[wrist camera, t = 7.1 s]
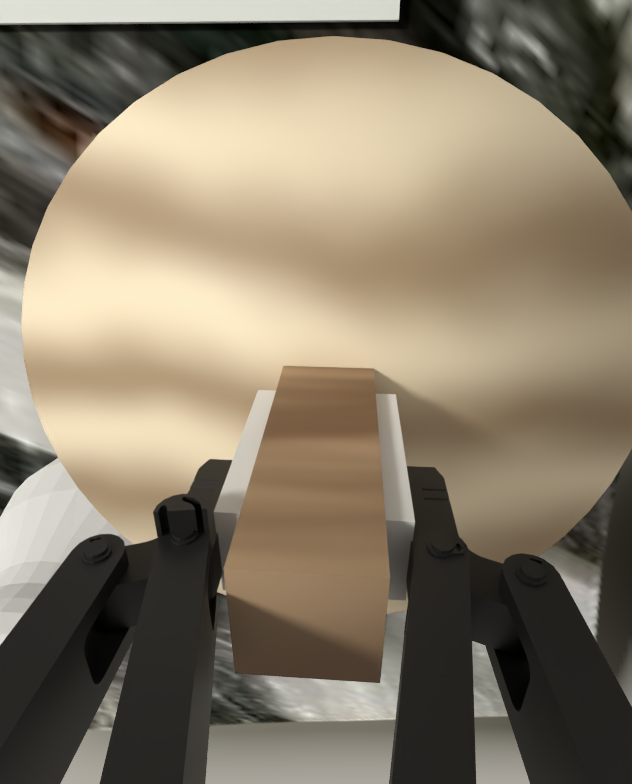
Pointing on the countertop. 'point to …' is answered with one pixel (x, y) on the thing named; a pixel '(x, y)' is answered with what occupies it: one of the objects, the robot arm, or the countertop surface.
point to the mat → (194, 11)
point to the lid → (335, 322)
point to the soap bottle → (41, 537)
